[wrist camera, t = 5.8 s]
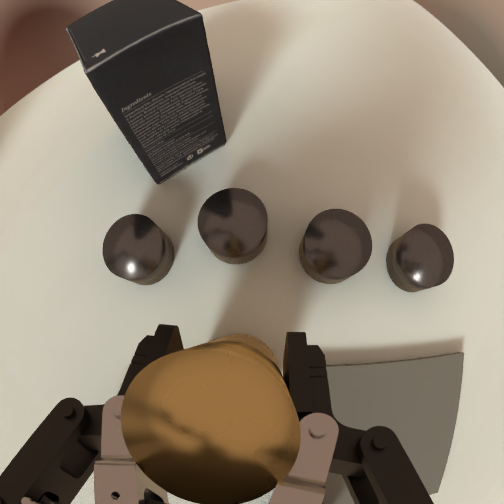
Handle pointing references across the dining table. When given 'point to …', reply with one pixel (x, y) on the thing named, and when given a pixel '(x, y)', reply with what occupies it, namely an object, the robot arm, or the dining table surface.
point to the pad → (400, 410)
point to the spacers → (255, 235)
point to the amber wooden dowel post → (213, 422)
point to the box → (153, 79)
